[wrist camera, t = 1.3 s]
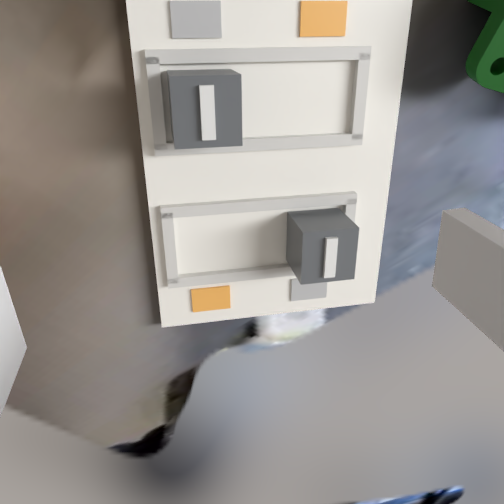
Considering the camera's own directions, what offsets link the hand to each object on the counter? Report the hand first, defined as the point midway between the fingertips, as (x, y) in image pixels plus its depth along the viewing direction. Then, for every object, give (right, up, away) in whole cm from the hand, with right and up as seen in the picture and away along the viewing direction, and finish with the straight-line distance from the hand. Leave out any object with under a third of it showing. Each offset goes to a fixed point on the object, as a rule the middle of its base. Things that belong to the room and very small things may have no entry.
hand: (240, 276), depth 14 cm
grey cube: (+5, +2, +22) cm, 22 cm away
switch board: (+2, +7, +20) cm, 21 cm away
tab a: (-3, +10, +16) cm, 19 cm away
